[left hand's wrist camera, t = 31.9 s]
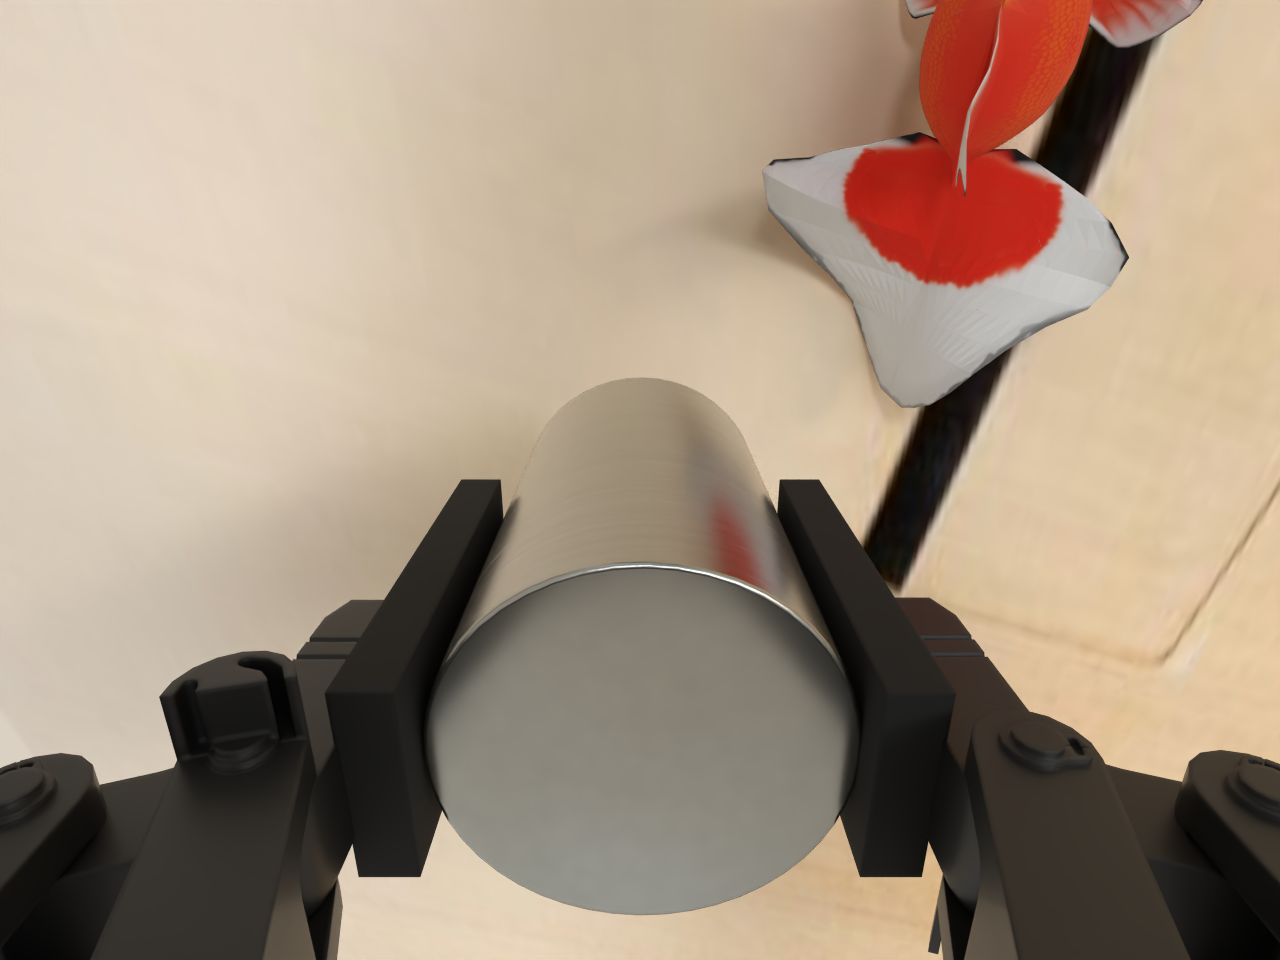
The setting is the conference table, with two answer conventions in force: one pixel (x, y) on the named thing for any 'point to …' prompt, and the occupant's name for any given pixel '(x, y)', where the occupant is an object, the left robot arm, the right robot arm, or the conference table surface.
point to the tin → (642, 670)
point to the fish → (965, 196)
